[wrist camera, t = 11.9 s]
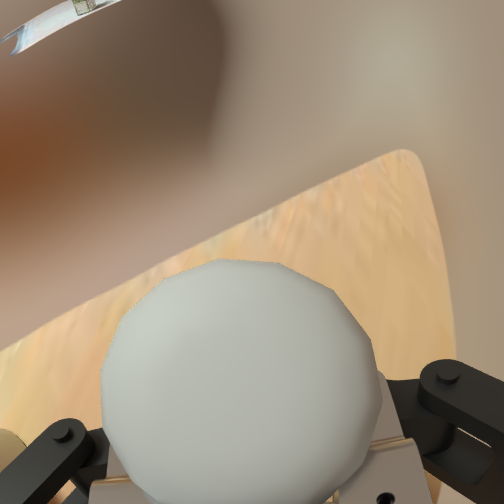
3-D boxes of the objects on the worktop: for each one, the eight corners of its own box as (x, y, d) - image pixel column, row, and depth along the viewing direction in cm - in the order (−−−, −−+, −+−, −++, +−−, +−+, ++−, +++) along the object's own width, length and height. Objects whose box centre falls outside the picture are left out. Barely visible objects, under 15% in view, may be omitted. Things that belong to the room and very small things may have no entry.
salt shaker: (299, 334, 17) (342, 152, 5) (340, 432, 14) (502, 471, 3) (195, 372, 16) (24, 266, 5) (231, 471, 13) (109, 598, 2)
